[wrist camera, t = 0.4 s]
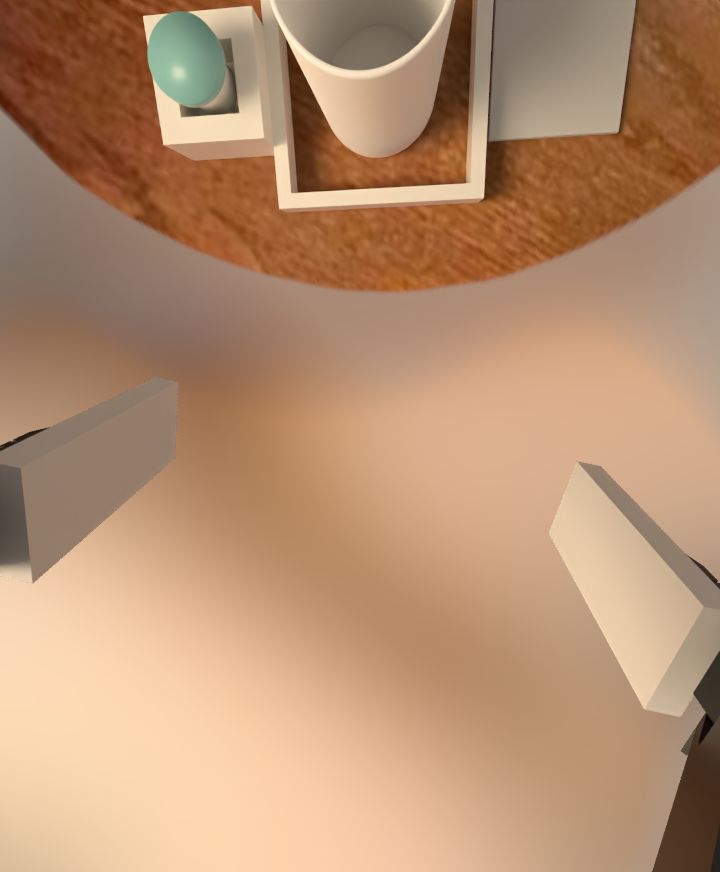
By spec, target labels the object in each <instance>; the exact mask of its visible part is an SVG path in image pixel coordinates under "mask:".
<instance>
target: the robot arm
mask: <svg viewBox="0 0 720 872" xmlns="http://www.w3.org/2000/svg"><path fill="white" fill-rule="evenodd" d="M177 397H178V382H176V381H171V380H166V379H161V378H156V377H155V378H153V379H150V380H148V381H146V382H144V383H142V384H140V385H138V386H136V387H134V388H132V389H130V390H127V391H125V392H123V393H121V394H119V395H117V396H115V397H113V398H111V399H109V400H107V401H104V402H103V403H100V404H98V405H96V406H94V407H92V408H90V409H88V410H86V411H83V412H82V413H79V414H77V415H75V416H73V417H71V418H69V419H67V420H65V421H63V422H60V423H58V424H56V425H54V426H52V427H49V428H44V429H40V430H36V431H32V432H29V433H27V434H24V435H22V436H20V437H18V438H16V439H14V440H13V442H11V441H10V442H7V443H5V444H3V445H1V446H0V577H4V578H8V579H13V580H18V581H23V582H27V583H34V582H35V581H36V580H37V579H38V578H39V577H41V576H42V575H43V574H44V573H45V572H46V571H48V570H49V569H50V568H51V567H52V566H53V565H54V564H56V563H57V562H58V561H59V560H60V559H61V558H62V557H63V556H65V555H66V554H67V553H68V552H69V551H70V550H71V549H73V548H74V547H75V546H76V545H77V544H78V543H79V542H81V541H82V540H83V539H84V538H85V537H86V536H87V535H88V534H90V533H91V532H92V531H93V530H94V529H95V528H96V527H98V526H99V525H100V524H101V523H102V522H103V521H104V520H105V519H107V518H108V517H109V516H110V515H111V514H112V513H113V512H114V511H116V510H117V509H118V508H119V507H120V506H121V505H123V504H124V503H125V502H126V501H127V500H128V499H129V498H130V497H131V496H133V495H134V494H135V493H136V492H137V491H139V489H141V488H142V487H143V486H144V485H145V484H146V483H147V482H149V481H150V480H151V479H152V478H153V477H154V476H156V475H157V474H158V473H159V472H160V471H161V470H162V469H163V468H165V467H166V466H167V465H168V464H169V463H170V462H171V461H172V460H174V459H175V456H176V428H177V401H178V400H177V399H178V398H177ZM549 535H550V536H551V538H552V540H553V542H554V544H555V546H556V548H557V549H558V551H559V553H560V555H561V557H562V559H563V560H564V562H565V564H566V566H567V568H568V570H569V572H570V573H571V575H572V577H573V579H574V580H575V583H576V584H577V586H578V588H579V590H580V592H581V593H582V595H583V597H584V599H585V601H586V602H587V605H588V606H589V608H590V610H591V612H592V614H593V616H594V618H595V619H596V621H597V623H598V625H599V627H600V629H601V631H602V632H603V634H604V636H605V638H606V640H607V641H608V643H609V645H610V647H611V649H612V651H613V652H614V654H615V656H616V658H617V660H618V662H619V664H620V666H621V667H622V669H623V671H624V673H625V675H626V677H627V678H628V680H629V682H630V684H631V686H632V688H633V690H634V691H635V693H636V695H637V697H638V699H639V701H640V702H641V704H642V706H643V708H644V709H645V710H650V711H655V712H660V713H665V714H669V715H674V716H679V717H681V715H682V714H683V712H684V710H685V709H686V707H687V706H688V704H689V702H690V701H691V699H692V698H693V696H694V695H695V697H696V698H697V700H698V701H699V703H700V704H701V706H702V707H703V709H704V710H705V711H706V713H705V715H704V716H703V718H702V719H701V721H700V722H699V724H698V725H697V727H696V728H695V730H694V731H693V733H692V735H691V736H690V737H689V739H688V741H687V742H686V744H685V745H684V747H683V748H682V750H681V752H683V753H684V754H685V755H688V757H687V760H686V764H685V767H684V770H683V773H682V777H681V780H680V783H679V786H678V790H677V793H676V796H675V800H674V803H673V806H672V809H671V812H670V816H669V819H668V822H667V825H666V829H665V832H664V835H663V838H662V842H661V845H660V848H659V852H658V855H657V858H656V861H655V865H654V868H653V871H652V872H720V583H717V581H718V580H717V579H716V578H715V577H714V576H713V575H712V574H711V573H709V571H708V570H707V569H706V568H705V567H704V566H702V565H701V564H699V563H698V562H696V561H695V560H693V559H692V558H691V557H689V556H688V555H687V554H685V553H684V552H683V551H682V550H681V549H680V548H679V547H678V546H677V545H676V544H675V543H674V542H673V540H672V539H671V538H670V537H669V536H668V535H667V534H666V533H665V532H664V531H663V530H662V529H661V528H660V527H659V526H658V525H657V524H656V523H655V522H654V521H653V520H652V519H651V518H650V517H649V516H648V515H647V514H646V513H645V512H644V511H643V510H642V509H641V508H640V507H639V505H638V504H637V503H636V502H635V501H634V500H633V499H632V498H631V497H630V496H629V495H628V494H627V493H626V492H625V491H624V490H623V489H622V488H621V487H620V486H619V485H618V484H617V483H616V482H615V481H614V480H613V479H612V478H611V477H610V475H608V474H607V472H606V471H605V470H604V469H603V468H602V467H601V466H597V465H592V464H587V463H582V462H577V463H576V465H575V468H574V470H573V473H572V476H571V478H570V481H569V483H568V486H567V488H566V491H565V493H564V496H563V498H562V501H561V503H560V506H559V509H558V511H557V514H556V517H555V519H554V521H553V524H552V527H551V529H550V531H549Z"/></svg>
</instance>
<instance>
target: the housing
mask: <svg viewBox="0 0 720 872" xmlns="http://www.w3.org/2000/svg"><path fill="white" fill-rule="evenodd" d="M493 1H494V0H473V1H472V29H471V56H470V84H469V111H468V139H467V166H466V183H464V184H447V185H429V186H411V187H393V188H375V189H358V190H340V191H322V192H304V193H298V189H297V176H296V162H295V149H294V136H293V123H292V109H291V96H290V83H289V70H288V56H287V43H286V37H285V35H284V33H283V31H282V29H281V27H280V25H279V23H278V21H277V19H276V16H275V14H274V11H273V9H272V5H271V2H270V0H261V10H262V21H263V25H262V23H261V22H260V20H259V18H258V16H257V15H256V13H255V11H254V9H253V8H252V6H245V7H234V8H224V9H213V10H203V11H192V12H189V13H192V14H194V15H196V16H198V17H199V18H201V19H202V20H203V21H204V22H205V23H206V24H207V25H208V26H209V27H210V29H211V30H212V31H213V32H214V34H215V35H216V36H217V38H218V40H219V42H220V43H221V46H222V48H223V51H224V55H225V61H226V64H227V65H228V66H229V67H230V69H231V70H232V71H233V73H234V75H235V78H236V87H237V101H236V103H235V105H234V107H233V108H232V109H231V110H230V111H229V112H228V113H227V114H221V115H210V114H208V113H206V112H204V111H203V110H202V109H201V108H199V107H197V108H191V107H186V106H183V105H181V104H178V103H177V102H175V101H174V100H173V99H171V98H170V97H168V96H167V95H166V94H165V93H164V92H163V91H162V90H161V89H160V88H159V86H158V85H157V83H156V82H155V80H154V78H153V82H154V88H155V94H156V101H157V107H158V113H159V119H160V126H161V132H162V138H163V144H164V145H165V146H167V147H169V148H171V149H173V150H175V151H176V152H178V153H180V154H182V155H184V156H186V157H188V158H190V159H192V160H194V161H197V160H213V159H229V158H244V157H260V156H275V167H276V178H277V190H278V201H279V209H280V210H282V211H285V212H287V213H289V212H308V211H327V210H346V209H365V208H384V207H404V206H423V205H442V204H461V203H478V202H480V201H481V200H482V199H483V198H484V186H485V165H486V145H487V124H488V104H489V83H490V63H491V42H492V22H493ZM166 15H168V14H160V15H150V16H143V19H144V26H145V32H146V38H147V44H148V43H149V38H150V35H151V33H152V30H153V28H154V27H155V25H156V24H157V23H158V22H159V20H160V19H162V18H163V17H164V16H166Z"/></svg>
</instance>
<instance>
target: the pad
mask: <svg viewBox="0 0 720 872" xmlns="http://www.w3.org/2000/svg"><path fill="white" fill-rule="evenodd" d="M635 5H636V0H495V11H494V31H493V51H492V71H491V92H490V112H489V132H488V142H495V141H510V140H526V139H542V138H557V137H573V136H589V135H604V134H616V133H618V132H619V125H620V118H621V110H622V103H623V95H624V88H625V80H626V73H627V65H628V58H629V50H630V43H631V35H632V27H633V20H634V12H635Z"/></svg>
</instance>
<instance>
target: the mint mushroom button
mask: <svg viewBox="0 0 720 872" xmlns="http://www.w3.org/2000/svg"><path fill="white" fill-rule="evenodd" d="M148 62H149V67H150V70H151V73H152V76H153V78H154V80H155V82H156V83H157V85H158V86H159V88H160V89H161V90H162V91H163V92H164V93H165V94H166V95H167V96H168V97H170V98H171V99H173V100H174V101H175V102H177V103H178V104H181V105H183V106H186V107H191V108H197V107H199V108H201V109H202V110H203V111H204V112H206V113H208V114H210V115H221V114H227V113H228V112H229V111H230V110H231V109H232V108H233V107H234V105H235V103H236V101H237V87H236V78H235V75H234V73H233V71H232V70H231V69H230V67H229V66H228V65H227V64H226V61H225V55H224V51H223V48H222V46H221V43H220V42H219V40H218V38H217V36H216V35H215V34H214V32H213V31H212V30H211V29H210V27H209V26H208V25H207V24H206V23H205V22H204V21H203V20H202V19H201V18H199V17H198V16H196V15H194V14H192V13H189V12H183V11H177V12H172V13H170V14H168V15H166V16H164V17H163V18H162V19H160V20H159V22H158V23H157V24H156V25H155V27H154V28H153V30H152V33H151V35H150V38H149V43H148Z"/></svg>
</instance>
